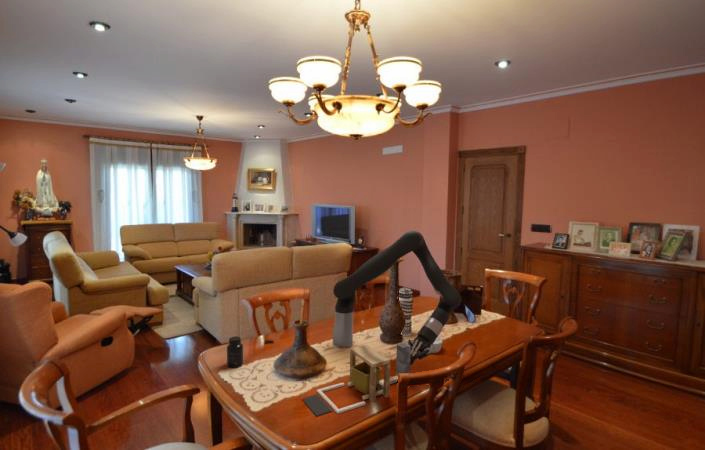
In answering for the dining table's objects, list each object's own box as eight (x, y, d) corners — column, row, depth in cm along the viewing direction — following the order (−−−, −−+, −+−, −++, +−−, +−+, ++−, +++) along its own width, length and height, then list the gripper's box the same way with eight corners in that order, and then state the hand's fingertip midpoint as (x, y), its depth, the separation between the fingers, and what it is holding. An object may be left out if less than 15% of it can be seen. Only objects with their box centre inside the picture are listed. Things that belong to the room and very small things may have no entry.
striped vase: (414, 332, 207) (416, 288, 205) (408, 337, 199) (410, 291, 197) (399, 329, 212) (400, 285, 210) (392, 334, 204) (394, 289, 202)
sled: (397, 371, 160) (398, 339, 159) (415, 383, 151) (416, 349, 149) (347, 385, 147) (348, 350, 146) (363, 399, 138) (364, 362, 136)
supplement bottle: (226, 362, 166) (226, 336, 164) (242, 360, 168) (242, 334, 167) (227, 369, 159) (227, 342, 158) (243, 367, 162) (243, 340, 160)
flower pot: (364, 381, 152) (365, 360, 151) (381, 390, 146) (382, 367, 145) (349, 389, 145) (350, 367, 144) (366, 398, 139) (367, 375, 138)
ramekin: (442, 355, 179) (442, 344, 178) (418, 352, 181) (419, 342, 181) (441, 346, 190) (442, 336, 189) (419, 343, 192) (419, 333, 192)
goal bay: (342, 384, 149) (342, 382, 149) (365, 404, 135) (365, 402, 135) (316, 391, 143) (316, 389, 143) (337, 413, 129) (337, 411, 129)
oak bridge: (366, 378, 155) (367, 344, 153) (389, 396, 141) (390, 359, 140) (349, 382, 150) (350, 348, 149) (371, 402, 137) (372, 364, 136)
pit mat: (316, 395, 141) (316, 394, 141) (331, 411, 130) (331, 410, 130) (302, 399, 138) (302, 398, 138) (316, 416, 127) (316, 415, 127)
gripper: (415, 320, 165) (392, 353, 159) (437, 330, 154) (413, 366, 148) (424, 330, 168) (402, 362, 163) (446, 340, 157) (423, 375, 151)
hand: (407, 364), depth 155 cm, fingers closed
